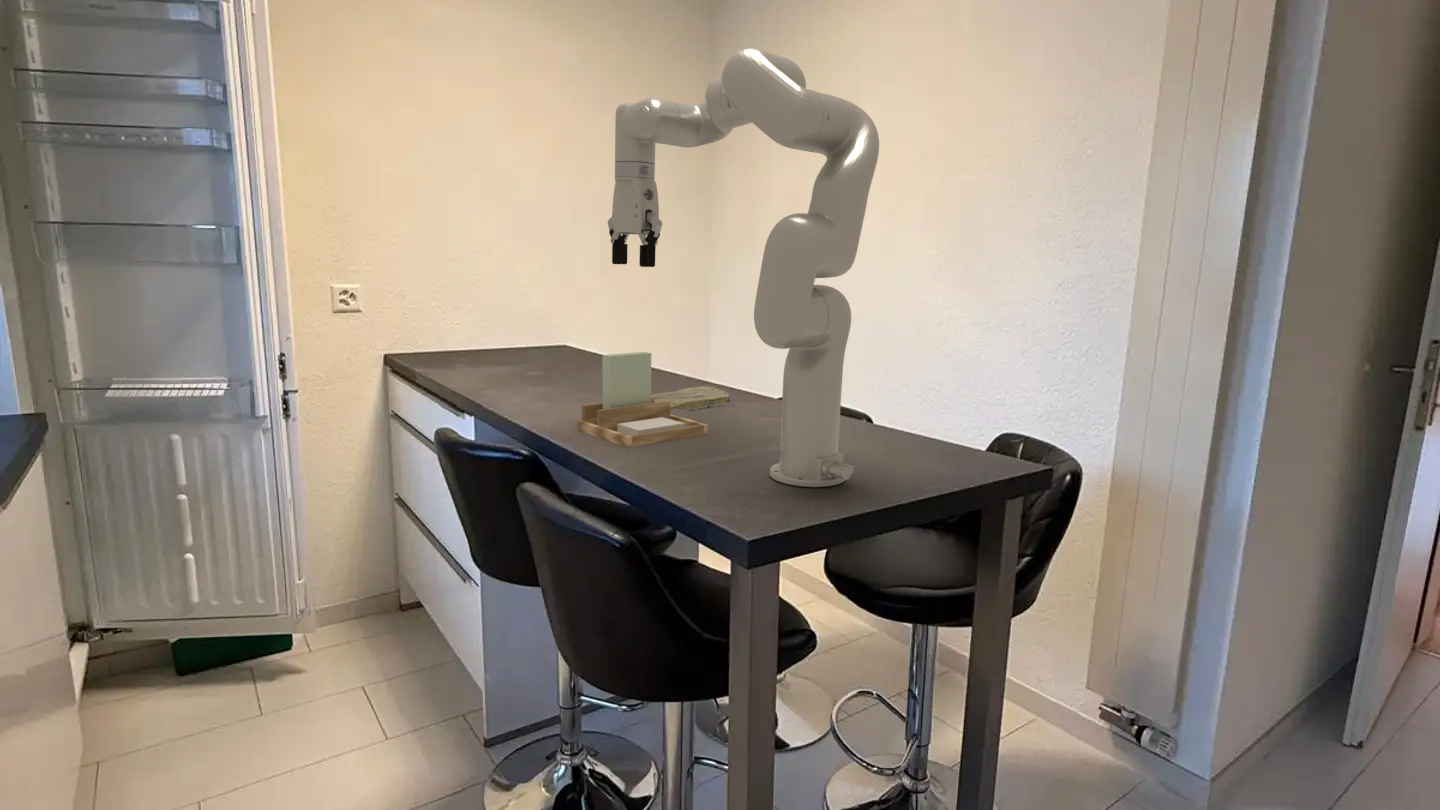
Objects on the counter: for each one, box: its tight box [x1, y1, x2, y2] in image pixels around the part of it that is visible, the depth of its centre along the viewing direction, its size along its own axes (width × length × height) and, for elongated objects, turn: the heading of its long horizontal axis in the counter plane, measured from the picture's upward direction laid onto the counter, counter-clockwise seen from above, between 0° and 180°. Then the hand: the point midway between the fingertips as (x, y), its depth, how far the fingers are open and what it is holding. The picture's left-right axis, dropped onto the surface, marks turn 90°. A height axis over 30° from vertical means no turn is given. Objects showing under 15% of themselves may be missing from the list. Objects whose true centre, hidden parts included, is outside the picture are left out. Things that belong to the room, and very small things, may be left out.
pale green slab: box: [601, 351, 652, 409], centre depth 159 cm, size 2×10×16 cm, turn 131°
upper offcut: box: [617, 417, 684, 436], centre depth 154 cm, size 7×11×2 cm, turn 132°
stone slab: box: [651, 385, 731, 411], centre depth 188 cm, size 12×4×30 cm
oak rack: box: [577, 397, 709, 449], centre depth 156 cm, size 17×19×6 cm
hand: (633, 265), depth 153 cm, fingers open, 9 cm apart
